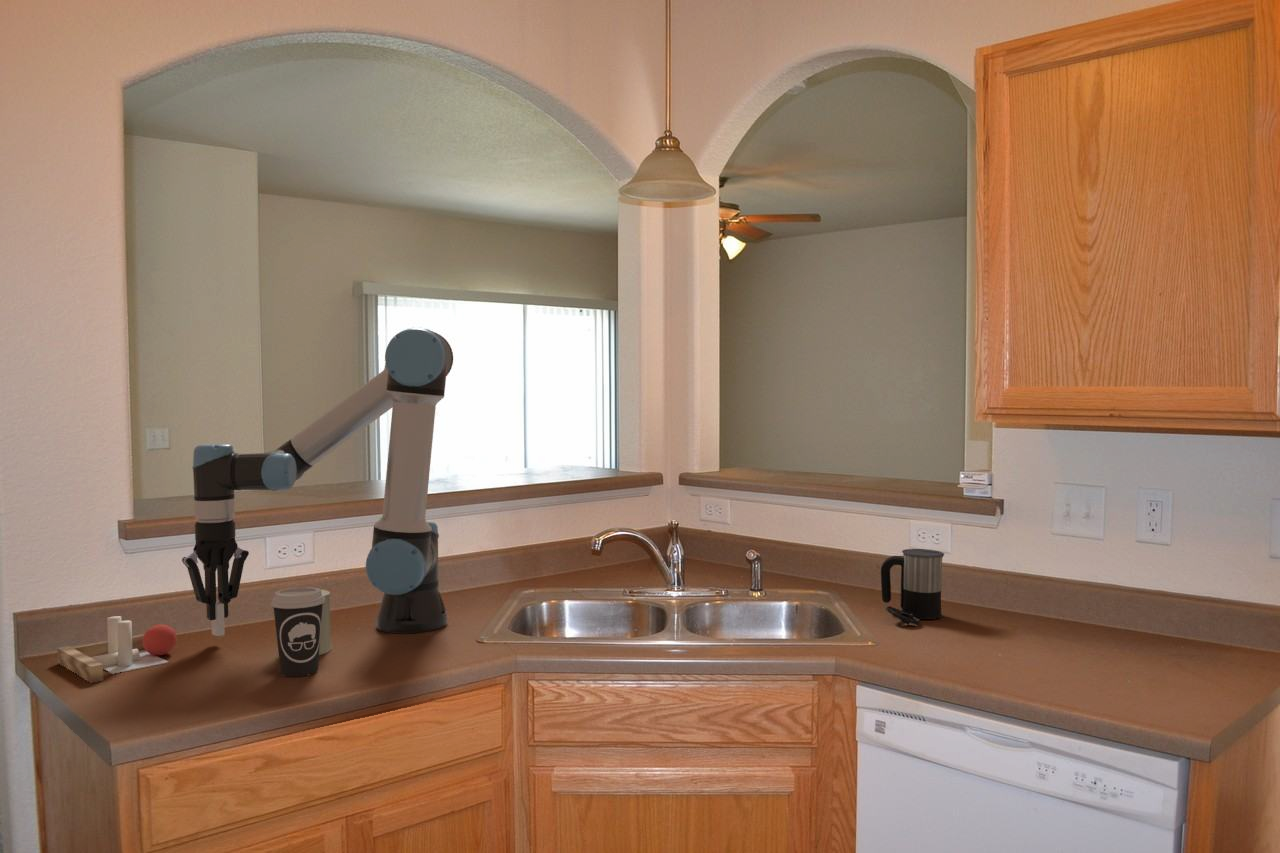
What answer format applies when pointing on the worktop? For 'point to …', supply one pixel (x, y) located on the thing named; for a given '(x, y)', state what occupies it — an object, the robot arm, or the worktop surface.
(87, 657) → the wooden angle block
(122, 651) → the pin
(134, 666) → the pin deck mark
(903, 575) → the milk frother
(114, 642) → the pin
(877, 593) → the worktop surface
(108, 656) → the pin front
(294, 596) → the coffee cup
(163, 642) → the ball
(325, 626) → the can
